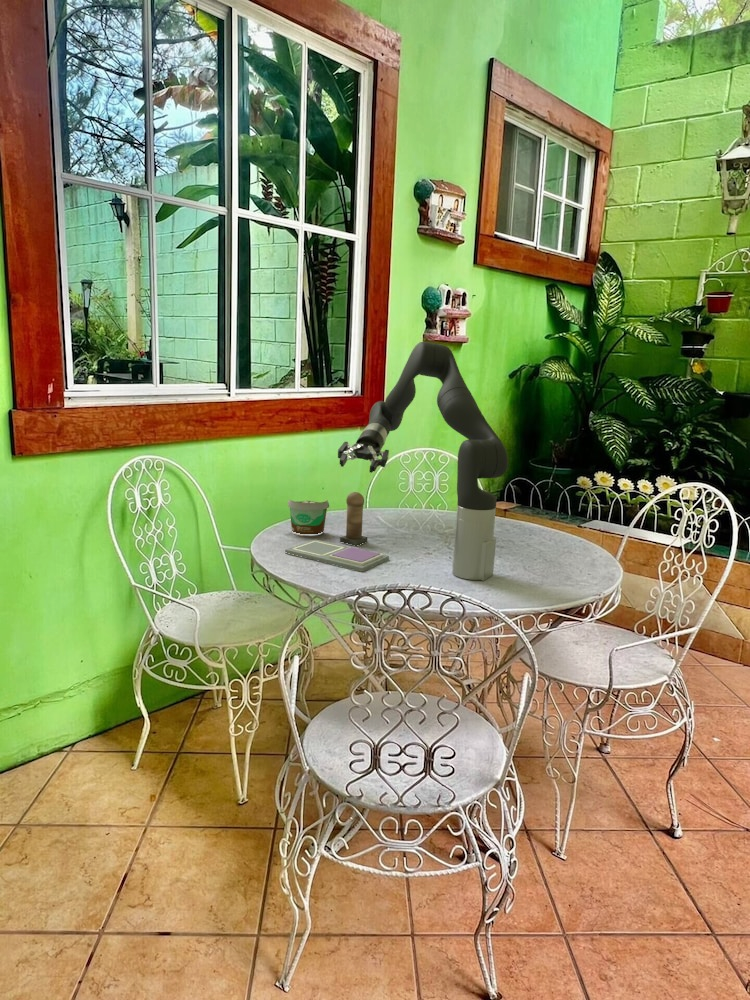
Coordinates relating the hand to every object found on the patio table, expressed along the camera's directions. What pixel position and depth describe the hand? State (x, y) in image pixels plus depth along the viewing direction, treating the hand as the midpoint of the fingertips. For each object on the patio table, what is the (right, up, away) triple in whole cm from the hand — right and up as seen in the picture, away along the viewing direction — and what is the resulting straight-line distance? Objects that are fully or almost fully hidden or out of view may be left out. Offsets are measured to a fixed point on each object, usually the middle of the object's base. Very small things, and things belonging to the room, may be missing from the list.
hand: (356, 466), depth 181 cm
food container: (-15, -20, +7) cm, 25 cm away
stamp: (-1, -21, +1) cm, 21 cm away
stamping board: (-5, -24, -13) cm, 28 cm away
